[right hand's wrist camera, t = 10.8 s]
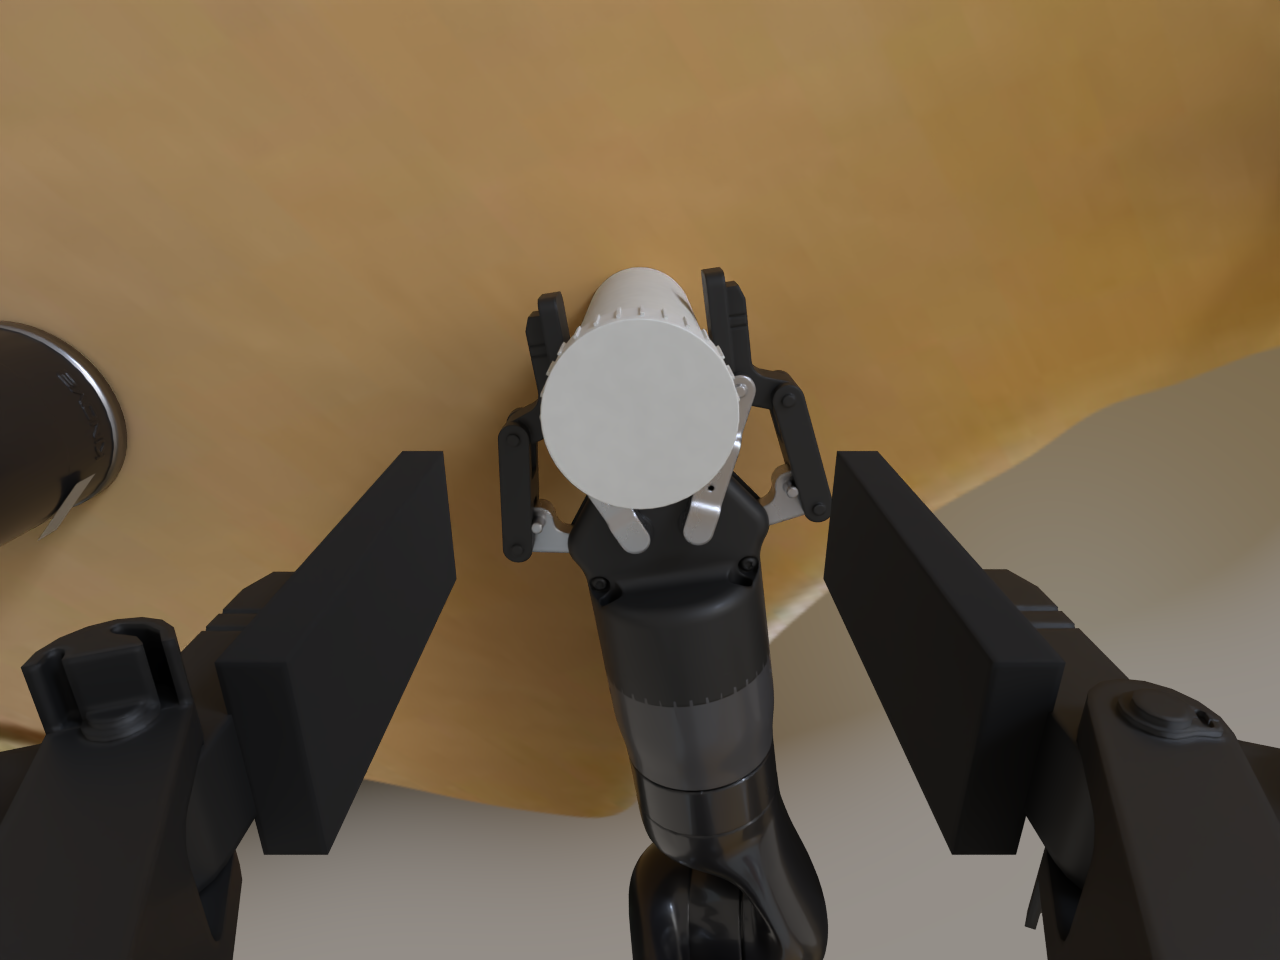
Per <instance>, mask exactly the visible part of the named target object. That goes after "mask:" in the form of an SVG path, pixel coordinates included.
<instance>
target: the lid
mask: <svg viewBox="0 0 1280 960" xmlns="http://www.w3.org/2000/svg"><path fill="white" fill-rule="evenodd" d="M557 355H558V357H557V359H556V361H555V362H554V361H552V363H551V365H550V367H549V369H548V371H547V373H546V375H548V378H547V381H546V383H545V385H544V387H543V390H542V392H541V394H540V397H542V400H541V407H540V420H541V428H542V433H543V437H544V441H545V444H546V447H547V449H548V451H549V454H550V456H551V458H552V459H553V461H554V463H555V464H556V466H557V467H558V469H559V470H560V471H561V472H562V474H563V475H564V476H565V477H566V478H567V479H568V480H569V481H570V482H571V483H572V484H573V485H574V486H576V487H577V488H578V489H579V490H581V491H582V492H584V493H585V494H587V495H589V496H590V497H592V498H594V499H596V500H599V501H601V502H603V503H606V504H609V505H613V506H616V507H621V508H627V509H653V508H658V507H664V506H667V505H670V504H674V503H677V502H679V501H681V500H683V499H685V498H688V497H689V496H691V495H693V494H694V493H696V492H698V491H699V490H700V489H702V488H703V487H704V486H705V485H707V484H708V483H709V482H710V481H711V480H712V479H713V478H714V477H715V476H716V475H717V473H718V472H719V471H720V469H721V468H722V467H723V465H724V464H725V462H726V460H727V459H728V457H729V455H730V453H731V450H732V448H733V446H734V443H735V440H736V436H737V432H738V424H739V421H740V420H739V402H738V401H740V398H739V395H738V393H737V391H736V388H735V385H734V382H733V379H735V377H734V374H733V372H732V370H731V368H730V366H729V365H726V364H725V362H724V360H723V359H724V358H725V357H724V355H723V353H722V351H721V349H720V347H719V345H718V346H715V345H714V344H713V342H712V341H711V340H710V339H709V337H708V335H707V332H706V331H705V330H704V329H702V331H701V330H700V329H699V328H698V327H696V326H695V325H693V324H692V323H690V322H689V320H688V317H686V316H684V318H681V317H679V316H677V315H675V314H672V313H669V312H667V309H666V308H663V310H657V309H652V308H644V305H640V308H628V309H622V310H621V307H618V308H617V311H613V312H610V313H608V314H605V315H602V316H600V315H599V314H598V315H596V316H595V319H594V320H592V321H591V322H589V323H588V324H586V325H585V326H583V327H582V328H581V327H580V326H579V327H578V328H577V329H576V331H575V334H574V335H573V336H572V337H571V338H570V340H569V341H568V342H567V343H565V342H563V344H562V345H561V347H560V349H559V351H558V353H557Z"/></svg>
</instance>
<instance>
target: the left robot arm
mask: <svg viewBox="0 0 1280 960" xmlns="http://www.w3.org/2000/svg"><path fill="white" fill-rule="evenodd" d="M701 275H702V285H703V293H704V302H705V310H706V319H707V327H708V336H709V339H710V340H711V341H712V342H713V344H714V345H715V346H718V345H719V347H720V349H721V351H722V353H723V355H724V357H725V358H724V359H723V360H724V362H725V364H726V365H729V366H730V368H731V370H732V372H733V374H734V377H735V379H733V382H734V385H735V388H736V391H737V393H738V395H739V398H740V401H738V402H739V420H740V421H739V424H738V432H737V436H736V440H735V443H734V446H733V448H732V450H731V453H730V455H729V457H728V459H727V460H726V462H725V464H724V465H723V467H722V468H721V469H720V471H719V472H718V473H717V475H716V476H715V477H714V478H713V479H712V480H711V481H710V482H709V483H708V484H707V485H705V486H704V487H703V488H702V489H700V490H699V491H698V492H696V493H694V494H693V495H691V496H689V497H688V498H685V499H683V500H681V501H679V502H677V503H674V504H670V505H667V506H664V507H658V508H653V509H627V508H621V507H616V506H613V505H609V504H606V503H603V502H601V501H599V500H596V499H594V498H592V497H590V496H589V495H586V497H585V499H584V501H583V503H582V505H581V507H580V508H579V510H578V512H577V514H576V516H575V518H574V520H573V522H572V524H566V523H563V522H562V521H560V520H559V519H558V517H557V515H556V511H555V508H554V506H553V504H552V503H550V502H549V501H547V500H544V499H539V478H538V441H540V440H542V439H544V437H543V433H542V428H541V420H540V407H541V400H542V397H540V394H541V392H542V390H543V387H544V385H545V383H546V381H547V378H548V375H546V373H547V371H548V369H549V367H550V365H551V363H552V361H554V362H555V361H556V359H557V357H558V355H557V353H558V351H559V349H560V347H561V345H562V344H563V342H565V343H567V342H568V341H569V340H570V335H569V329H568V324H567V319H566V313H565V308H564V303H563V298H562V294H561V292H553V293H547V294H542V295H541V296H540V297H539V299H538V310H539V311H534V312H532V313H531V315H530V316H529V317H528V320H527V326H526V337H527V341H528V346H529V351H530V356H531V360H532V365H533V370H534V375H535V379H536V384H537V389H538V399H537V400H536V401H535V402H533V403H532V404H530V405H528V406H526V407H524V408H517V409H515V410H513V411H512V412H511V414H510V415H509V417H508V419H507V423H506V424H505V425H504V426H503V428H502V429H501V431H500V433H499V436H498V450H499V472H500V494H501V516H502V538H503V552H504V554H505V556H506V557H507V558H508V559H509V560H511V561H513V562H524V561H526V560H528V559H529V558H530V556H531V554H532V552H558V553H570V555H571V557H572V559H573V560H574V561H575V562H576V563H577V564H578V565H579V566H580V568H581V569H582V570H583V572H584V574H585V576H586V578H587V582H588V586H589V591H590V595H591V600H592V605H593V610H594V615H595V620H596V625H597V630H598V635H599V639H600V644H601V649H602V654H603V659H604V664H605V669H606V674H607V679H608V684H609V688H610V693H611V698H612V703H613V707H614V712H615V716H616V720H617V723H618V726H619V728H620V731H621V734H622V736H623V739H624V741H625V744H626V747H627V750H628V754H629V759H630V764H631V769H632V774H633V779H634V783H635V788H636V793H637V800H638V804H639V809H640V813H641V817H642V821H643V824H644V826H645V829H646V832H647V834H648V836H649V838H650V839H651V840H652V842H653V843H652V844H651V845H650V846H649V847H648V848H647V849H646V850H645V851H644V853H643V854H642V855H641V856H640V858H639V860H638V861H637V863H636V866H635V868H634V870H633V873H632V876H631V881H630V887H629V920H630V933H631V943H632V954H633V960H823V958H824V955H825V951H826V946H827V939H828V920H827V911H826V905H825V900H824V896H823V892H822V888H821V885H820V882H819V879H818V876H817V874H816V871H815V869H814V866H813V864H812V861H811V859H810V857H809V855H808V852H807V851H806V848H805V847H804V845H803V843H802V841H801V839H800V837H799V835H798V833H797V831H796V829H795V828H794V826H793V824H792V822H791V820H790V817H789V815H788V813H787V810H786V808H785V805H784V803H783V800H782V798H781V795H780V791H779V785H778V777H777V771H776V761H775V752H774V743H773V729H772V724H773V710H774V690H773V678H772V669H771V660H770V650H769V639H768V629H767V620H766V610H765V601H764V591H763V581H762V572H761V562H760V550H761V546H762V543H763V540H764V538H765V536H766V535H767V532H768V529H769V525H772V524H775V523H779V522H782V521H785V520H788V519H792V518H795V517H798V516H802V515H805V516H806V517H807V518H808V519H809V520H810V521H813V522H822V521H825V520H827V519H828V518H829V517H830V513H831V504H832V497H831V494H830V490H829V486H828V482H827V479H826V475H825V471H824V468H823V464H822V460H821V457H820V453H819V449H818V445H817V442H816V438H815V434H814V431H813V427H812V423H811V420H810V416H809V412H808V408H807V405H806V401H805V397H804V394H803V392H802V391H801V389H800V388H799V387H798V385H797V384H796V383H795V382H794V380H793V379H792V378H791V377H790V375H789V374H788V373H786V372H785V371H782V370H776V371H769V370H764V369H760V368H757V367H755V366H754V365H753V364H752V361H751V351H750V341H749V331H748V320H747V310H746V300H745V297H744V295H743V293H742V291H741V289H740V287H739V285H738V284H737V283H736V282H735V281H729V282H725V277H724V272H723V270H722V269H721V268H720V267H716V268H710V269H703V270H701ZM751 406H755V407H760V408H766V409H769V410H770V413H771V417H772V420H773V424H774V427H775V431H776V434H777V438H778V441H779V444H780V448H781V451H782V455H783V458H784V462H785V464H784V465H781V466H779V467H777V468H776V469H775V470H774V471H773V473H772V476H771V481H772V487H771V490H770V491H769V493H768V494H767V495H766V496H764V497H762V498H760V497H759V496H758V495H757V494H756V493H755V492H754V491H753V490H752V489H751V488H750V487H749V486H748V485H747V484H746V483H745V482H744V481H743V480H742V479H741V478H740V477H739V476H738V475H737V474H736V473H735V472H734V471H733V469H734V466H735V463H736V460H737V457H738V454H739V451H740V447H741V438H742V433H743V430H744V427H745V424H746V421H747V418H748V415H749V412H750V409H751ZM126 449H127V432H126V425H125V420H124V417H123V413H122V410H121V408H120V405H119V403H118V400H117V398H116V396H115V394H114V393H113V391H112V389H111V388H110V386H109V384H108V383H107V382H106V380H105V379H104V377H103V376H102V375H101V374H100V372H99V371H98V370H97V369H96V368H95V367H94V366H93V365H92V364H91V363H90V362H89V361H88V360H87V359H86V358H85V357H84V356H83V355H82V354H81V353H79V352H78V351H77V350H75V349H74V348H73V347H72V346H70V345H68V344H67V343H65V342H64V341H62V340H61V339H59V338H57V337H55V336H53V335H51V334H49V333H47V332H45V331H43V330H40V329H37V328H34V327H32V326H28V325H24V324H20V323H15V322H7V321H0V547H1V546H2V545H4V544H6V543H8V542H10V541H11V540H13V539H15V538H17V537H18V536H20V535H22V534H24V533H26V532H27V531H29V530H31V529H33V528H35V527H37V526H38V525H40V524H42V523H44V522H46V521H47V520H49V519H51V518H53V519H52V520H51V522H50V523H49V525H48V526H47V528H46V529H45V530H44V532H43V533H42V535H41V536H40V538H39V539H38V541H39V540H40V539H42V538H43V537H45V536H47V535H48V534H50V533H52V532H53V531H55V530H57V528H58V527H59V525H60V524H61V522H62V521H63V519H64V518H65V517H66V515H67V514H68V512H69V511H70V509H71V508H72V507H74V506H77V505H79V504H81V503H83V502H85V501H87V500H89V499H90V498H92V497H94V496H96V495H97V494H99V493H101V492H102V491H103V490H104V489H106V488H107V487H108V486H109V485H110V484H111V483H112V482H113V480H114V479H115V478H116V477H117V475H118V473H119V471H120V470H121V467H122V465H123V462H124V459H125V455H126Z"/></svg>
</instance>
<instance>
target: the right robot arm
mask: <svg viewBox="0 0 1280 960" xmlns="http://www.w3.org/2000/svg"><path fill="white" fill-rule="evenodd" d="M455 581H456V569H455V560H454V551H453V541H452V532H451V522H450V513H449V504H448V494H447V485H446V475H445V466H444V457H443V451H402V452H401V454H400V455H399V456H398V457H397V458H396V459H395V460H394V461H393V462H392V464H391V465H390V466H389V467H388V468H387V469H386V470H385V471H384V473H383V474H382V475H381V476H380V477H379V478H378V479H377V480H376V482H375V483H374V484H373V485H372V486H371V487H370V488H369V489H368V491H367V492H366V493H365V494H364V495H363V496H362V497H361V498H360V499H359V501H358V502H357V503H356V504H355V505H354V506H353V507H352V508H351V510H350V511H349V512H348V513H347V514H346V515H345V516H344V517H343V519H342V520H341V521H340V522H339V523H338V524H337V525H336V526H335V528H334V529H333V530H332V531H331V532H330V533H329V534H328V535H327V536H326V538H325V539H324V540H323V541H322V542H321V543H320V544H319V545H318V547H317V548H316V549H315V550H314V551H313V552H312V553H311V554H310V556H309V557H308V558H307V559H306V560H305V561H304V562H303V563H302V565H301V566H300V567H299V568H298V569H297V570H296V571H295V572H272V573H271V574H269V575H267V576H265V577H264V578H262V579H260V580H258V581H257V582H255V583H253V584H251V585H250V586H248V587H246V588H244V589H243V590H242V591H241V592H240V593H239V594H238V595H237V596H236V597H235V598H234V599H233V600H232V601H231V602H230V603H229V604H228V605H227V606H226V607H225V608H224V609H223V614H218V615H217V616H216V617H215V618H214V619H213V620H212V621H211V622H210V623H209V624H208V625H207V626H206V631H201V632H200V633H199V634H198V635H197V636H196V637H195V639H194V640H193V641H192V642H191V643H190V644H189V645H188V646H187V647H186V648H185V649H184V650H183V651H182V652H180V648H179V644H178V641H177V637H176V634H175V630H174V627H173V626H171V625H169V624H168V623H166V622H165V621H163V620H160V619H153V618H145V617H138V618H127V619H116V620H112V621H108V622H104V623H100V624H96V625H92V626H88V627H85V628H83V629H80V630H78V631H75V632H73V633H70V634H68V635H65V636H63V637H60V638H58V639H57V640H55V641H53V642H52V643H50V644H48V645H47V646H45V647H43V648H42V649H40V650H39V651H37V652H35V653H34V654H33V655H32V657H31V658H30V659H29V660H28V661H27V662H26V663H25V664H24V665H23V666H22V667H21V669H22V672H23V675H24V677H25V680H26V682H27V685H28V688H29V690H30V693H31V696H32V698H33V701H34V704H35V706H36V709H37V712H38V714H39V717H40V720H41V722H42V725H43V727H44V730H45V733H46V736H45V738H44V740H43V742H42V743H41V744H37V745H32V746H27V747H22V748H17V749H12V750H8V751H3V752H0V960H233V952H234V944H235V935H236V927H237V919H238V910H239V902H240V893H241V885H242V876H241V869H240V864H239V860H238V857H237V853H236V848H237V846H238V845H239V843H240V841H241V840H242V838H243V836H244V835H245V833H246V832H247V830H248V828H249V827H250V825H251V823H252V822H253V820H254V818H255V822H256V826H257V829H258V833H259V837H260V841H261V845H262V849H263V853H264V855H328V853H329V851H330V849H331V847H332V845H333V843H334V841H335V838H336V836H337V834H338V832H339V830H340V828H341V826H342V823H343V821H344V819H345V817H346V815H347V813H348V810H349V808H350V806H351V804H352V802H353V800H354V798H355V795H356V793H357V791H358V789H359V787H360V785H361V783H362V780H363V778H364V776H365V774H366V772H367V770H368V768H369V765H370V763H371V761H372V759H373V757H374V755H375V753H376V750H377V748H378V746H379V744H380V742H381V740H382V738H383V735H384V733H385V731H386V729H387V727H388V725H389V723H390V720H391V718H392V716H393V714H394V712H395V710H396V707H397V705H398V703H399V701H400V699H401V697H402V695H403V692H404V690H405V688H406V686H407V684H408V682H409V680H410V677H411V675H412V673H413V671H414V669H415V667H416V665H417V662H418V660H419V658H420V656H421V654H422V652H423V650H424V647H425V645H426V643H427V641H428V639H429V637H430V635H431V632H432V630H433V628H434V626H435V624H436V622H437V619H438V617H439V615H440V613H441V611H442V609H443V607H444V604H445V602H446V600H447V598H448V596H449V594H450V592H451V589H452V587H453V585H454V583H455ZM824 581H825V583H826V585H827V587H828V589H829V592H830V594H831V596H832V598H833V600H834V602H835V604H836V606H837V609H838V611H839V613H840V615H841V617H842V619H843V622H844V624H845V626H846V628H847V630H848V632H849V635H850V637H851V639H852V641H853V643H854V645H855V647H856V650H857V652H858V654H859V656H860V658H861V660H862V662H863V664H864V667H865V669H866V671H867V673H868V675H869V677H870V680H871V682H872V684H873V686H874V688H875V690H876V692H877V695H878V697H879V699H880V701H881V703H882V705H883V707H884V710H885V712H886V714H887V716H888V718H889V720H890V722H891V725H892V727H893V729H894V731H895V733H896V735H897V737H898V740H899V742H900V744H901V746H902V748H903V750H904V753H905V755H906V757H907V759H908V761H909V763H910V765H911V768H912V770H913V772H914V774H915V776H916V778H917V780H918V782H919V785H920V787H921V789H922V791H923V793H924V795H925V798H926V800H927V802H928V804H929V806H930V808H931V810H932V813H933V815H934V817H935V819H936V821H937V823H938V825H939V828H940V830H941V832H942V834H943V836H944V838H945V841H946V843H947V845H948V847H949V849H950V851H951V853H952V855H1016V853H1017V849H1018V845H1019V841H1020V837H1021V833H1022V830H1023V826H1024V822H1025V818H1026V816H1027V818H1028V820H1029V821H1030V823H1031V824H1032V826H1033V828H1034V829H1035V831H1036V833H1037V834H1038V836H1039V837H1040V839H1041V841H1042V842H1043V844H1044V846H1045V849H1044V853H1043V857H1042V860H1041V864H1040V867H1039V871H1038V875H1037V878H1036V882H1035V885H1034V889H1033V893H1032V896H1031V900H1030V903H1029V907H1028V911H1027V917H1026V922H1025V926H1026V927H1029V928H1032V929H1036V926H1037V923H1038V919H1039V916H1040V913H1042V916H1043V925H1044V933H1045V941H1046V949H1047V958H1048V960H1280V748H1274V747H1270V746H1264V745H1260V744H1254V743H1250V742H1245V741H1240V740H1237V738H1236V736H1235V734H1234V733H1233V732H1232V730H1231V729H1230V728H1229V727H1228V726H1227V724H1226V723H1225V722H1224V721H1223V719H1222V718H1221V717H1220V716H1218V715H1217V714H1216V713H1214V712H1213V711H1211V710H1210V709H1209V708H1207V707H1206V706H1204V705H1203V704H1201V703H1200V702H1199V701H1197V700H1194V699H1192V698H1190V697H1188V696H1186V695H1184V694H1182V693H1180V692H1177V691H1175V690H1173V689H1170V688H1167V687H1163V686H1160V685H1156V684H1153V683H1149V682H1146V681H1139V680H1129V679H1128V677H1127V676H1125V674H1124V673H1123V672H1122V671H1121V670H1120V669H1119V668H1118V667H1117V666H1116V665H1115V664H1114V663H1113V662H1112V661H1111V660H1110V659H1109V658H1108V657H1107V656H1106V655H1105V654H1104V653H1103V652H1102V651H1101V650H1100V649H1099V648H1098V647H1097V646H1096V645H1095V644H1094V643H1093V642H1092V641H1091V640H1090V639H1089V638H1088V637H1087V636H1086V635H1085V634H1084V633H1083V632H1082V631H1081V630H1080V629H1079V628H1075V626H1074V623H1073V622H1072V621H1071V620H1070V619H1069V618H1068V617H1067V616H1066V615H1065V614H1064V613H1063V612H1062V611H1058V607H1057V606H1056V605H1055V604H1054V603H1053V602H1052V601H1051V600H1050V599H1049V598H1048V597H1047V596H1046V595H1045V594H1044V593H1043V592H1042V591H1041V590H1040V589H1039V588H1038V587H1037V586H1035V585H1034V584H1032V583H1030V582H1028V581H1027V580H1025V579H1023V578H1021V577H1019V576H1018V575H1016V574H1014V573H1012V572H1011V571H1009V570H1007V569H982V568H981V567H980V566H979V565H978V563H977V562H976V561H975V560H974V559H973V558H972V557H971V556H970V555H969V553H968V552H967V551H966V550H965V549H964V548H963V547H962V546H961V544H960V543H959V542H958V541H957V540H956V539H955V538H954V536H953V535H952V534H951V533H950V532H949V531H948V530H947V529H946V528H945V526H944V525H943V524H942V523H941V522H940V521H939V520H938V519H937V517H936V516H935V515H934V514H933V513H932V512H931V511H930V510H929V508H928V507H927V506H926V505H925V504H924V503H923V502H922V501H921V499H920V498H919V497H918V496H917V495H916V494H915V493H914V492H913V491H912V489H911V488H910V487H909V486H908V485H907V484H906V483H905V482H904V480H903V479H902V478H901V477H900V476H899V475H898V474H897V473H896V471H895V470H894V469H893V468H892V467H891V466H890V465H889V464H888V462H887V461H886V460H885V459H884V458H883V457H882V456H881V455H880V454H879V452H878V451H837V457H836V466H835V475H834V485H833V494H832V504H831V513H830V522H829V532H828V541H827V551H826V560H825V569H824Z"/></svg>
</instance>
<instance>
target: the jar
mask: <svg viewBox="0 0 1280 960" xmlns="http://www.w3.org/2000/svg"><path fill="white" fill-rule="evenodd" d="M640 305H644V308H652V309H657V310H663V308H666V309H667V312H669V313H672V314H675V315H677V316H679V317H681V318H684V316H686V317H688V320H689V322H690V323H692V324H693V325H695V326H696V327H698V328H699V329H700V327H699V325H698V322H697V320H696V318H695V315H694V313H693V310H692V308H691V306H690V303H689V301H688V299H687V297H686V294H685V293H684V291H683V290H682V288H681V287H680V286H679V285H678V283H677V282H675V281H674V280H673V279H672V278H671V277H669V276H668V275H666V274H664V273H662V272H660V271H658V270H655V269H651V268H644V267H636V268H629V269H625V270H622V271H619V272H617V273H615V274H613V275H612V276H610V277H609V278H608V279H606V280H605V281H604V282H603V283H602V284H601V286H600V287H599V288H598V289H597V291H596V292H595V294H594V296H593V298H592V300H591V303H590V305H589V307H588V310H587V312H586V315H585V317H584V319H583V322H582V324H581V326H580V327H581V328H582V327H583V326H585V325H586V324H588V323H589V322H591V321H592V320H594V319H595V316H596V315H598V314H599V315H600V316H602V315H605V314H608V313H610V312H613V311H617V308H618V307H621V310H622V309H628V308H640ZM700 330H701V329H700Z"/></svg>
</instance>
